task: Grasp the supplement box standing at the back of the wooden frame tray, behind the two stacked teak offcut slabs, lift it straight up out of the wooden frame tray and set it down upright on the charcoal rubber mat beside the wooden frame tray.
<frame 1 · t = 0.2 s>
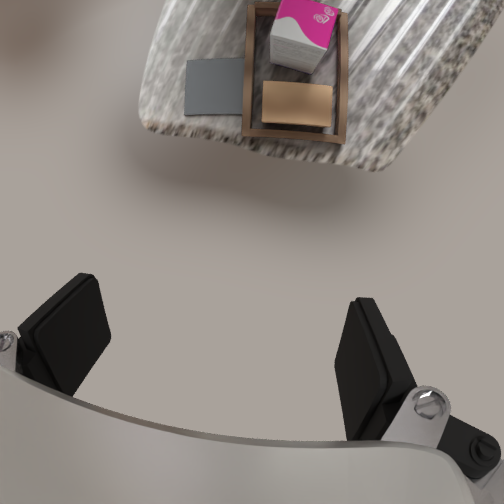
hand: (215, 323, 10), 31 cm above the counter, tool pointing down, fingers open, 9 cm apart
wooden frame tray: (296, 70, 32), on the counter
mat: (215, 86, 33), on the counter
offcut upper: (296, 105, 32), point 2 cm above the counter
supplement box: (296, 51, 31), on the counter
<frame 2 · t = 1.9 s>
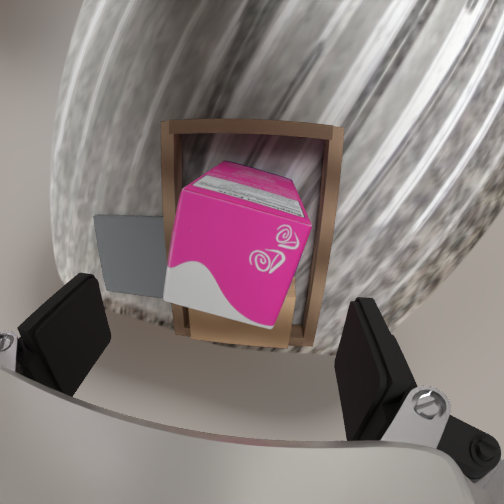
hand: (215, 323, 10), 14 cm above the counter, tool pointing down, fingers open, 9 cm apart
wooden frame tray: (248, 238, 24), on the counter
mat: (135, 256, 26), on the counter
offcut upper: (242, 302, 24), point 2 cm above the counter
supplement box: (249, 202, 23), on the counter
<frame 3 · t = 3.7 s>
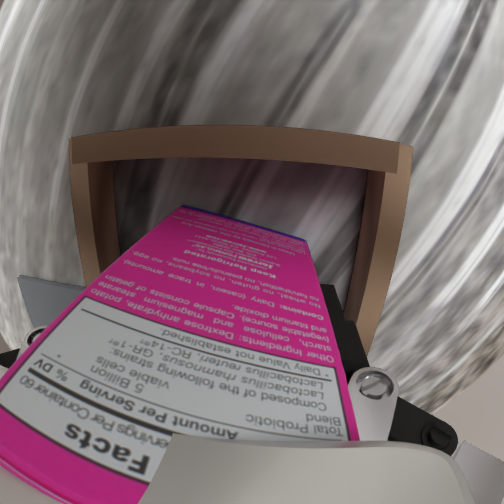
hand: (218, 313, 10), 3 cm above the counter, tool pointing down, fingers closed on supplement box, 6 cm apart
wooden frame tray: (230, 330, 14), on the counter
mat: (75, 335, 16), on the counter
supplement box: (230, 275, 13), on the counter, touching gripper
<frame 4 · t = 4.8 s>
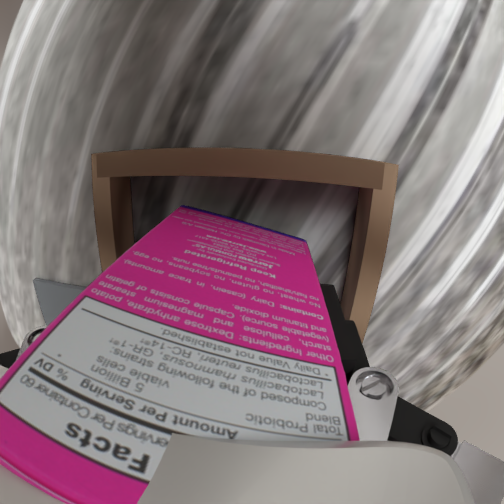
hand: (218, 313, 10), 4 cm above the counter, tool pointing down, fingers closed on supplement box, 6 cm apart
wooden frame tray: (235, 329, 16), on the counter
mat: (88, 335, 17), on the counter
supplement box: (230, 275, 13), point 1 cm above the counter, touching gripper
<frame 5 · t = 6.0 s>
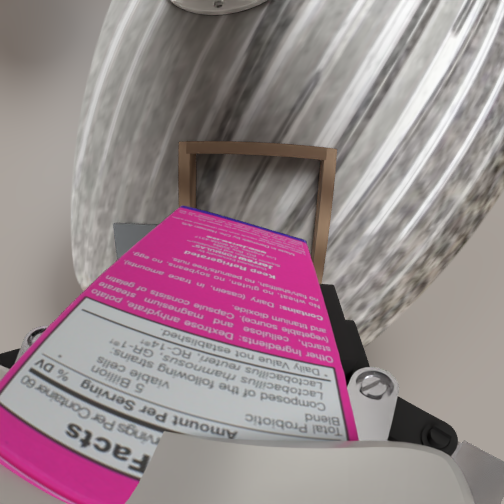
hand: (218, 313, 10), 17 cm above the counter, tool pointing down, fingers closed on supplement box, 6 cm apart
wooden frame tray: (253, 245, 27), on the counter
mat: (151, 261, 29), on the counter
supplement box: (230, 276, 13), point 14 cm above the counter, touching gripper
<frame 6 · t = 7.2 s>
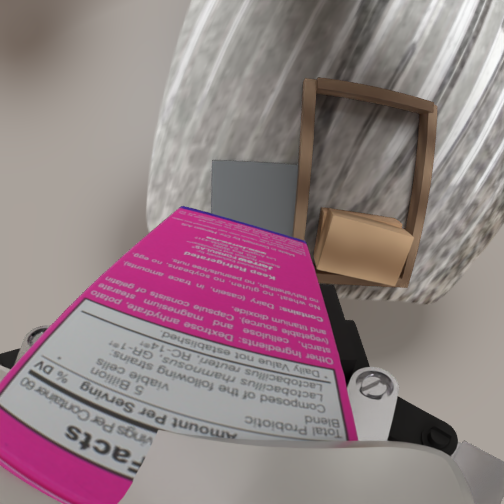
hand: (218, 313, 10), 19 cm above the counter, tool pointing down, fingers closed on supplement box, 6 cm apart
wooden frame tray: (362, 187, 26), on the counter
mat: (253, 203, 28), on the counter
offcut lower: (354, 234, 28), on the counter
offcut upper: (360, 243, 26), point 2 cm above the counter
supplement box: (230, 276, 13), point 16 cm above the counter, touching gripper
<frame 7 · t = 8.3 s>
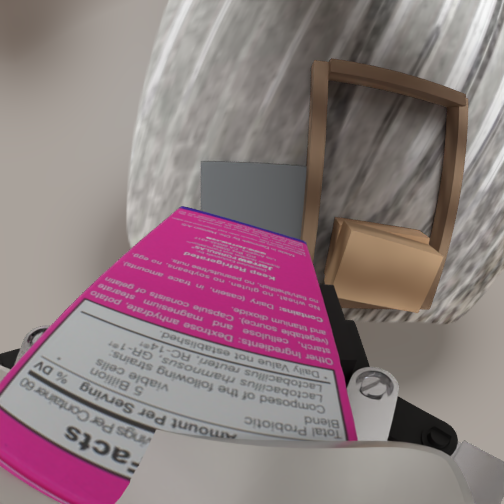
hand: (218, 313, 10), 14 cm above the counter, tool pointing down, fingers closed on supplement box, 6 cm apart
wooden frame tray: (382, 193, 21), on the counter
mat: (251, 212, 23), on the counter
offcut lower: (372, 249, 24), on the counter
offcut upper: (379, 262, 21), point 2 cm above the counter
supplement box: (230, 276, 13), point 11 cm above the counter, touching gripper
when the fingers open (5 cm above the counter, at t = 10.7 s): supplement box drops 1 cm, resting on mat.
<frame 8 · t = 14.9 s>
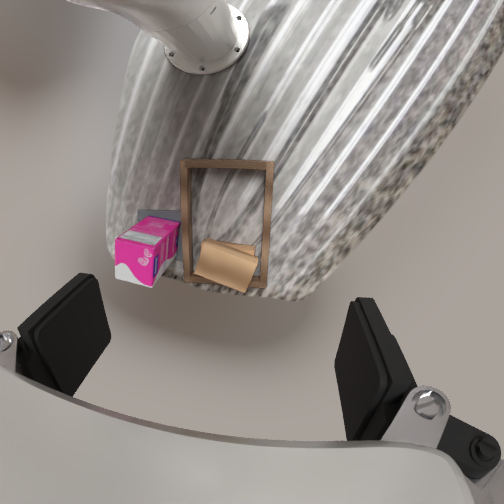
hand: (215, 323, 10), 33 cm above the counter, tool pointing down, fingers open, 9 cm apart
wooden frame tray: (226, 222, 43), on the counter
mat: (162, 234, 45), on the counter
offcut lower: (228, 256, 46), on the counter, touching offcut upper
offcut upper: (227, 261, 44), point 2 cm above the counter, touching offcut lower
supplement box: (163, 234, 45), resting on mat
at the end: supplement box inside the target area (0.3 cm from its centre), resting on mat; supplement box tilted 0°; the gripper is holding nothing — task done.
